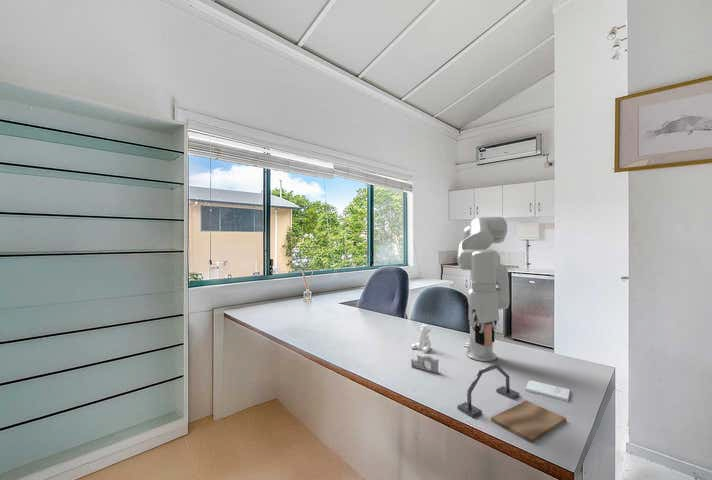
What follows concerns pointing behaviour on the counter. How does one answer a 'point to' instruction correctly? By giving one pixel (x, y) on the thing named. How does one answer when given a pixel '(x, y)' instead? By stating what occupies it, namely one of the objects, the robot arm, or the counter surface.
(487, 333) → the peach domed cylinder
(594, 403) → the counter surface
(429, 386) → the counter surface
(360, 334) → the counter surface
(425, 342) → the seated beast figurine
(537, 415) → the walnut board
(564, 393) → the external hard drive
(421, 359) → the garden wall model
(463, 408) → the grey cabinet handle
